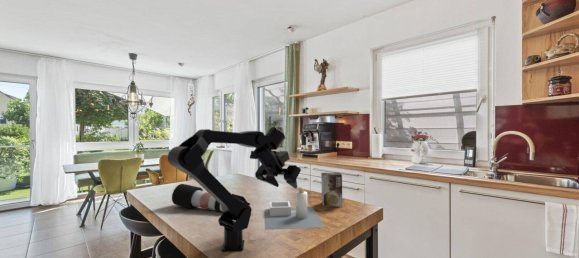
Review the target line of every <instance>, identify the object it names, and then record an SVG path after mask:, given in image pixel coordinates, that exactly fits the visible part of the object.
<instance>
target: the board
mask: <svg viewBox="0 0 579 258" xmlns="http://www.w3.org/2000/svg"><path fill="white" fill-rule="evenodd" d="M291 205H292V204H291V203H290V201H289V200H288V201H287V200H286V201H285V200H284V201H282V200H281V201H269V208H265V209H264V230H288V229H291V230H292V229H313V228H314V229H315V228H326V226H325V224H324V223H323V222H322V220H321V217H320V216H319V215H318V213H317V212H316V210H315V209H314V207H307V218H305V219H299V218H296V207H292V206H291Z"/></svg>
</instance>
